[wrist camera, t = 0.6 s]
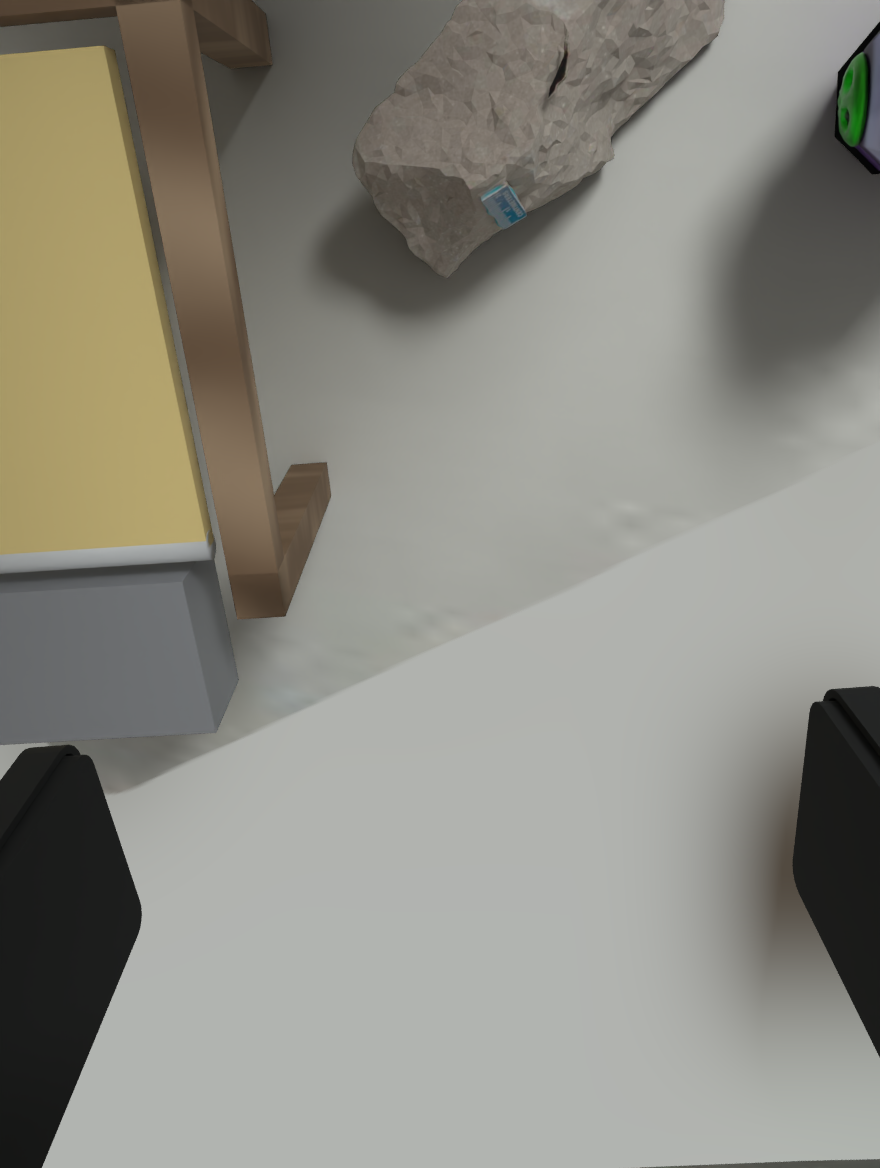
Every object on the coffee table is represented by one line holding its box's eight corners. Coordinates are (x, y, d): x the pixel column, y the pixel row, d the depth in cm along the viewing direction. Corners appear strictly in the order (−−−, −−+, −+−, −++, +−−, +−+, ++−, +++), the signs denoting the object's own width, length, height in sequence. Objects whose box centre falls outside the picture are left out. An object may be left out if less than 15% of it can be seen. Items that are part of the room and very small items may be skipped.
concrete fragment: (745, 44, 31) (810, 13, 26) (450, 292, 35) (450, 312, 30) (641, -145, 29) (687, -223, 23) (337, 143, 33) (315, 134, 27)
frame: (-226, 58, 31) (-581, -10, 21) (265, 13, 31) (165, -82, 20) (-64, 522, 39) (-259, 649, 28) (331, 496, 39) (285, 616, 28)
